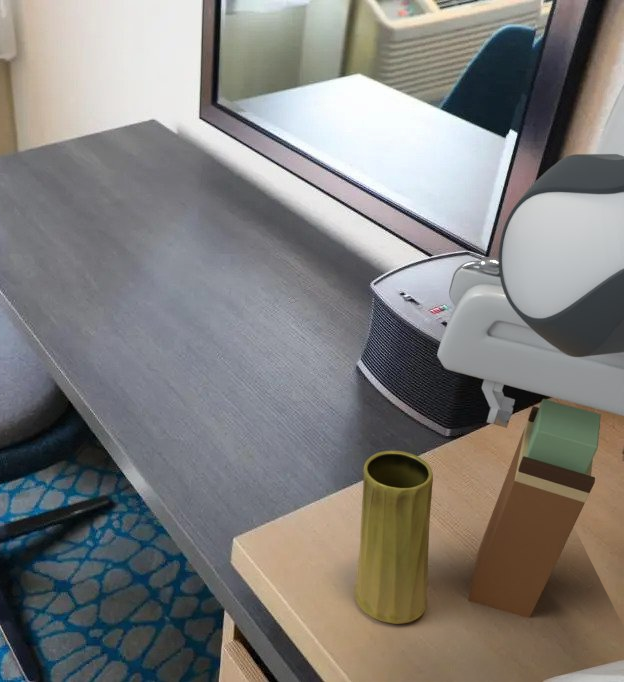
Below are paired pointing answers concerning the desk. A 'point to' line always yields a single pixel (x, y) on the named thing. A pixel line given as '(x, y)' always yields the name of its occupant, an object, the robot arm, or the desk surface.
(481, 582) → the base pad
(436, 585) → the desk surface
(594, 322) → the robot arm
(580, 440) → the green pad
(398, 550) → the vase
